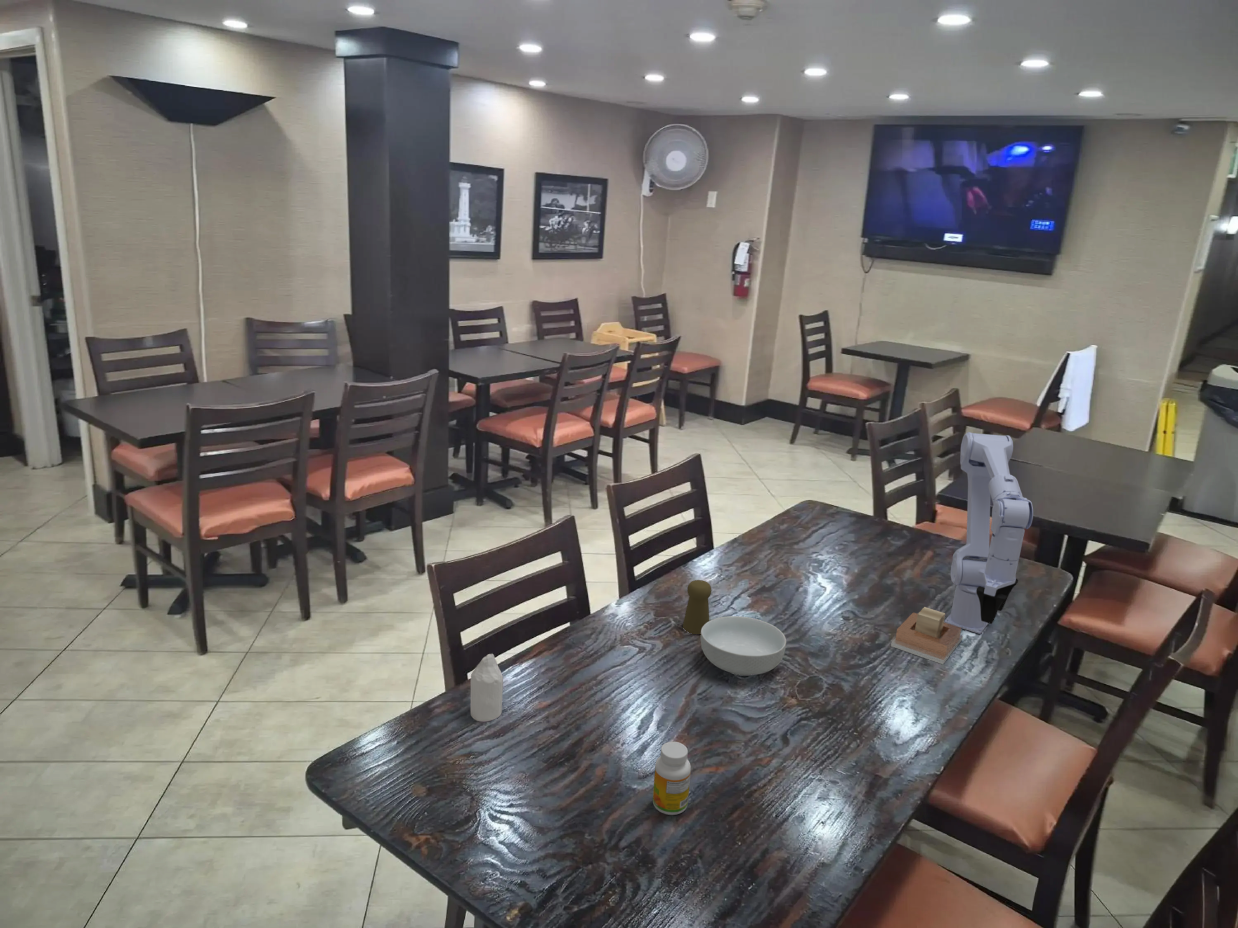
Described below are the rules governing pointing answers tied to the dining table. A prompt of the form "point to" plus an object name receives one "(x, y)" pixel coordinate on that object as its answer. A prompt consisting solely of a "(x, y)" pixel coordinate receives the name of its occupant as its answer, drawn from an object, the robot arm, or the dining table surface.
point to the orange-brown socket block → (927, 641)
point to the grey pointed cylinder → (486, 690)
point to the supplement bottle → (672, 779)
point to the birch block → (930, 622)
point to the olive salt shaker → (697, 606)
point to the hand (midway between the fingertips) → (991, 615)
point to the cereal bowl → (742, 645)
